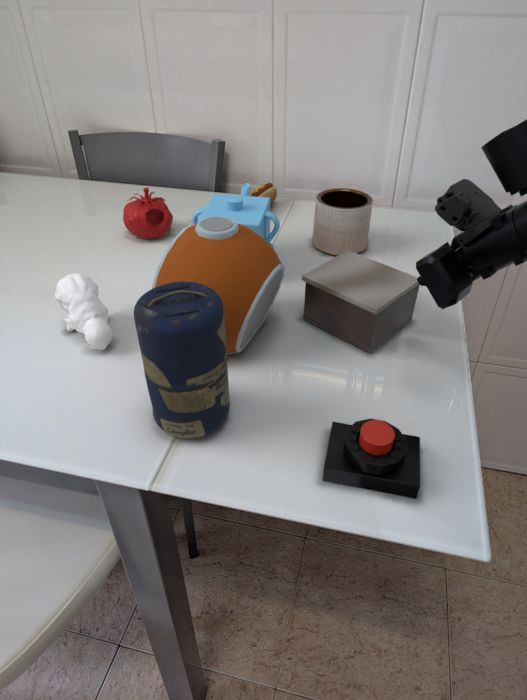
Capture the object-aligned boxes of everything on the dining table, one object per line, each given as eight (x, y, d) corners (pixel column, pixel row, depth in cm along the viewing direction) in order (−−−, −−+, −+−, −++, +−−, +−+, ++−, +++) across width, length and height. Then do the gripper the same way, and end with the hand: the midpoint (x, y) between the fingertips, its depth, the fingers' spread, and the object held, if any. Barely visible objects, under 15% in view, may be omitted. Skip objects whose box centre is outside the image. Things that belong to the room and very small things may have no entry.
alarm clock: (201, 288, 86) (193, 189, 75) (296, 310, 80) (302, 207, 70) (138, 351, 72) (116, 241, 61) (247, 383, 66) (245, 268, 56)
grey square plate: (301, 280, 75) (301, 275, 74) (347, 254, 81) (347, 250, 81) (376, 314, 67) (377, 309, 67) (420, 283, 74) (421, 278, 73)
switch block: (416, 449, 58) (423, 425, 55) (416, 499, 52) (424, 475, 50) (330, 434, 59) (333, 410, 57) (322, 480, 54) (325, 456, 52)
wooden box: (303, 319, 78) (305, 282, 74) (346, 291, 85) (351, 256, 81) (369, 354, 72) (376, 315, 67) (411, 321, 78) (420, 283, 74)
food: (250, 224, 106) (250, 202, 103) (229, 219, 108) (228, 197, 105) (281, 203, 116) (281, 182, 113) (260, 198, 118) (260, 177, 115)
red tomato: (116, 239, 101) (107, 194, 95) (142, 220, 108) (136, 177, 102) (159, 247, 98) (153, 201, 92) (183, 227, 105) (178, 183, 100)
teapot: (274, 285, 86) (275, 215, 78) (187, 278, 88) (180, 209, 80) (286, 240, 100) (288, 177, 92) (211, 235, 102) (207, 172, 94)
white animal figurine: (89, 262, 75) (119, 305, 67) (99, 307, 80) (128, 351, 73) (46, 274, 72) (73, 320, 65) (59, 319, 78) (85, 366, 70)
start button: (392, 434, 55) (395, 423, 54) (391, 459, 52) (394, 447, 51) (360, 428, 55) (362, 417, 54) (357, 452, 53) (359, 441, 51)
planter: (364, 234, 103) (371, 188, 97) (369, 258, 94) (376, 210, 88) (312, 231, 104) (315, 186, 98) (311, 256, 95) (315, 208, 89)
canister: (230, 443, 58) (223, 317, 47) (149, 446, 58) (122, 319, 47) (230, 388, 66) (224, 267, 55) (158, 390, 65) (137, 269, 54)
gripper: (526, 146, 59) (425, 210, 72) (451, 186, 48) (348, 252, 61) (571, 227, 60) (462, 276, 72) (507, 284, 49) (393, 330, 62)
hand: (419, 281), depth 67 cm, fingers closed
